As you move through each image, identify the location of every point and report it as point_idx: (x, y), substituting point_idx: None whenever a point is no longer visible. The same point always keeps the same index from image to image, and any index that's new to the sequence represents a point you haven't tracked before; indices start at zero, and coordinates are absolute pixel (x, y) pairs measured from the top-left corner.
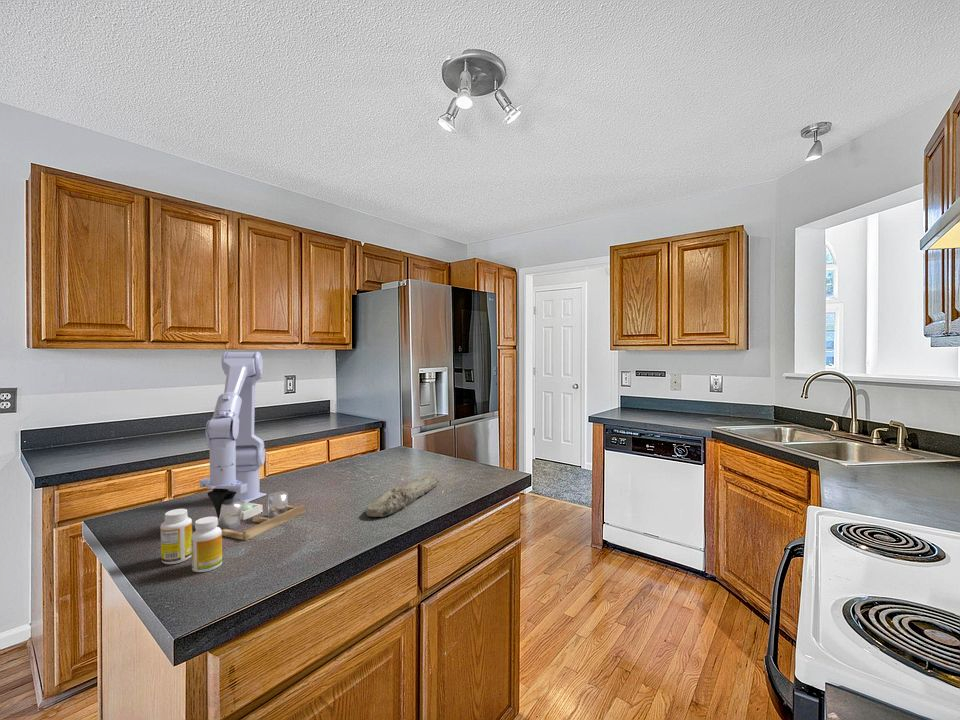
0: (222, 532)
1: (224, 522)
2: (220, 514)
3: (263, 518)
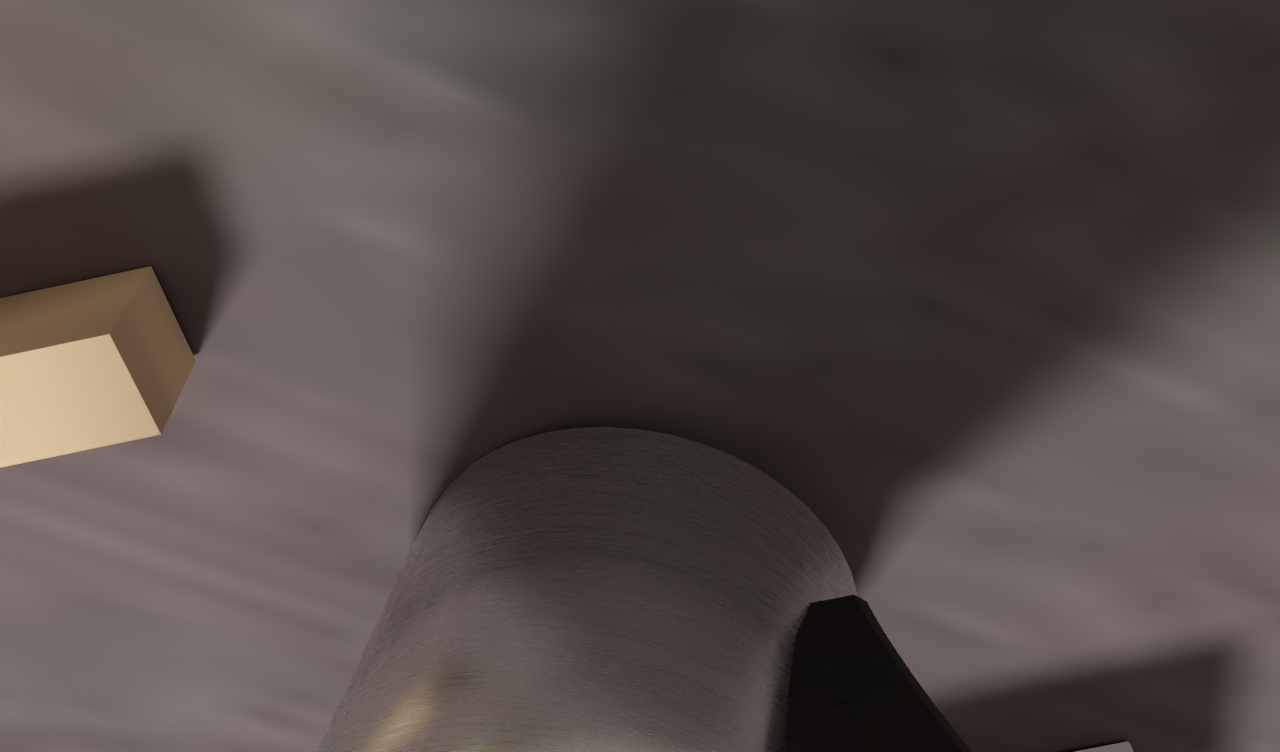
0: (76, 319)
1: (452, 579)
2: (612, 715)
3: None
